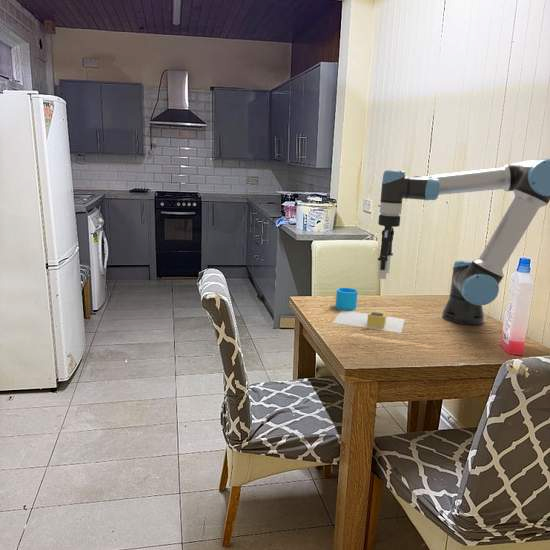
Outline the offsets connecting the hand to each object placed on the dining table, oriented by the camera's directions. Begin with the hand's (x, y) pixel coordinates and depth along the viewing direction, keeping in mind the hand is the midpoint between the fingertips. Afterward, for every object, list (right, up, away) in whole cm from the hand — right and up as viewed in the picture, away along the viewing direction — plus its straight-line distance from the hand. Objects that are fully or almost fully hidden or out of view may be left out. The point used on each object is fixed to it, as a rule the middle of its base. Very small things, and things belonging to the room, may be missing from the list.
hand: (383, 275), depth 185 cm
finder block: (-3, -17, -3) cm, 18 cm away
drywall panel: (-5, -18, +1) cm, 18 cm away
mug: (-11, -14, +18) cm, 25 cm away
